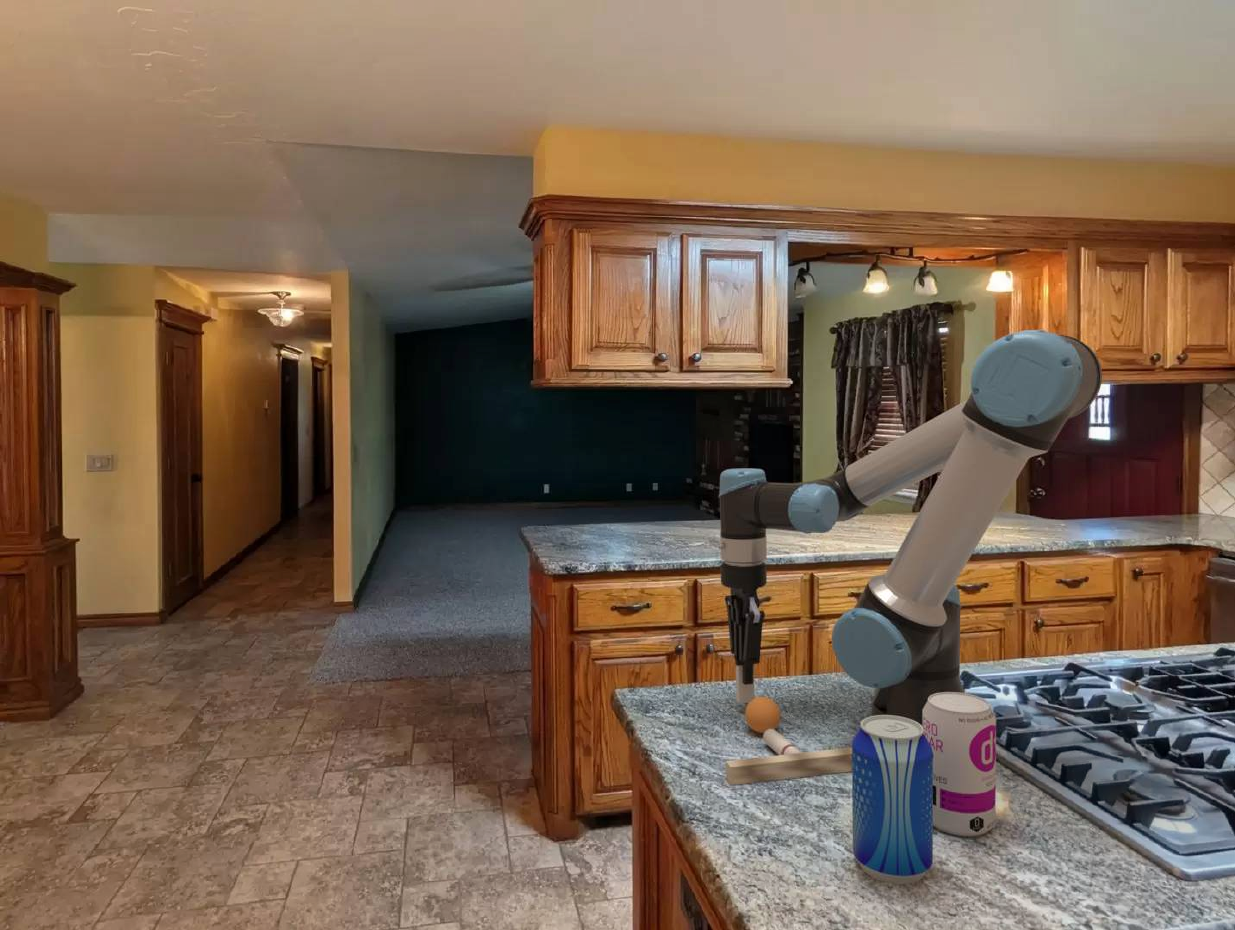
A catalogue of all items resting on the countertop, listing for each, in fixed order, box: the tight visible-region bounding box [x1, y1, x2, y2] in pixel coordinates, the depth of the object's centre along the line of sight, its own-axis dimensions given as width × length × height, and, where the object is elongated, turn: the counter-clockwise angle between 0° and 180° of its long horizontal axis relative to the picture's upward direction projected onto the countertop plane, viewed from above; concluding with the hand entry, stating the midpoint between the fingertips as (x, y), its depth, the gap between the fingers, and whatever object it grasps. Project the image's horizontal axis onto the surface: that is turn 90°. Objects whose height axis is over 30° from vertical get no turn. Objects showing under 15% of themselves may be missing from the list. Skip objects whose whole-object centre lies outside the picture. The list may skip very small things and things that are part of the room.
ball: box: [744, 696, 782, 734], centre depth 129 cm, size 6×6×6 cm
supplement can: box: [922, 692, 997, 837], centre depth 100 cm, size 8×8×15 cm
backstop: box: [725, 747, 852, 786], centre depth 115 cm, size 22×2×2 cm, turn 101°
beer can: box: [851, 715, 934, 885], centre depth 91 cm, size 8×8×16 cm
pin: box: [762, 729, 803, 756], centre depth 120 cm, size 2×2×9 cm
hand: (745, 700), depth 138 cm, fingers closed
